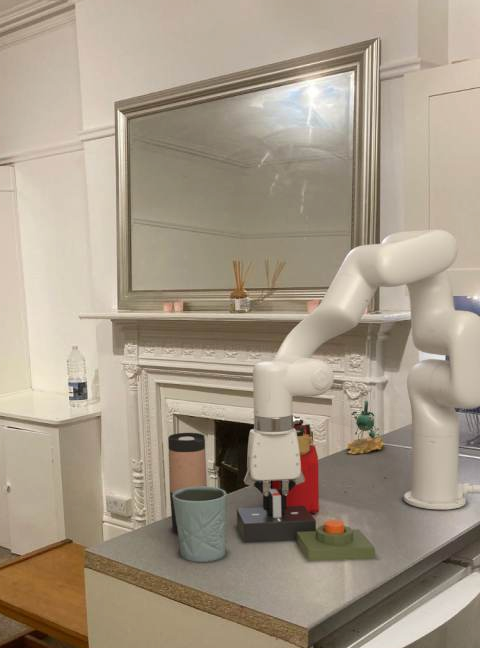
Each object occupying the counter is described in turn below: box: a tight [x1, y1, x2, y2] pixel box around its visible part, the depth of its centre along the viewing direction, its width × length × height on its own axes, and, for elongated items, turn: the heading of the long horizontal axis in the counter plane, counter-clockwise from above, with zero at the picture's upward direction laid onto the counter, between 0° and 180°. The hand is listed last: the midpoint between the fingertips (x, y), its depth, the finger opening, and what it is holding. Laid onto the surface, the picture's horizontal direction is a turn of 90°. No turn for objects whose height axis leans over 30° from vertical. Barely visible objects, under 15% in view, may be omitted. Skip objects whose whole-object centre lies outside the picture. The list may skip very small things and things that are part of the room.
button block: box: [296, 524, 376, 562], centre depth 153 cm, size 12×10×4 cm
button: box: [323, 519, 345, 534], centre depth 153 cm, size 4×4×2 cm
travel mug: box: [167, 432, 208, 535], centre depth 168 cm, size 8×8×20 cm
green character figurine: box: [346, 400, 385, 455], centre depth 229 cm, size 10×18×15 cm, turn 133°
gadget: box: [236, 506, 317, 544], centre depth 164 cm, size 14×10×4 cm
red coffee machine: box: [269, 419, 320, 514], centre depth 179 cm, size 16×10×20 cm, turn 168°
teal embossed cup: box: [172, 486, 228, 563], centre depth 154 cm, size 10×10×12 cm
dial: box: [269, 488, 281, 518], centre depth 164 cm, size 5×2×5 cm, turn 179°
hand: (274, 512), depth 164 cm, fingers closed, pressing on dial
